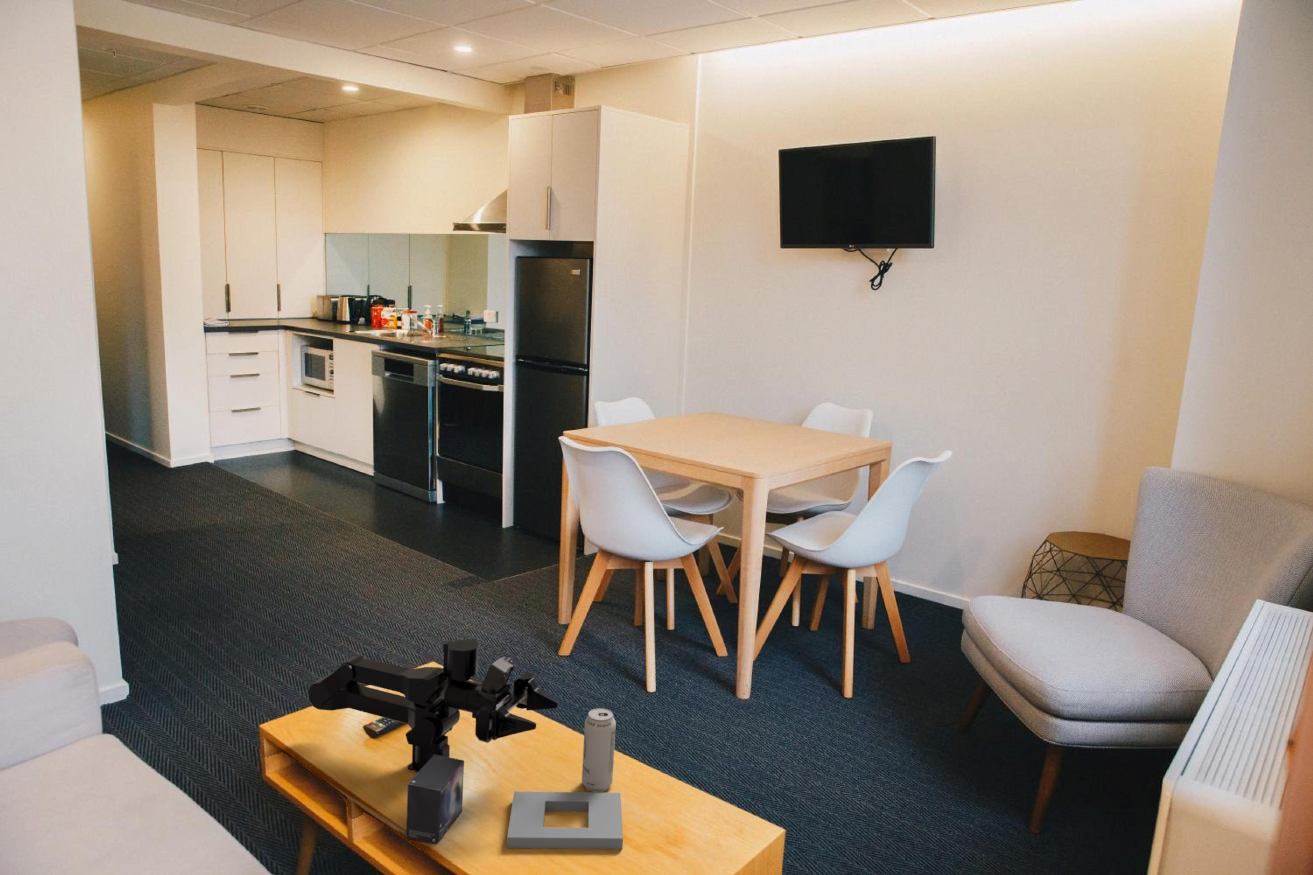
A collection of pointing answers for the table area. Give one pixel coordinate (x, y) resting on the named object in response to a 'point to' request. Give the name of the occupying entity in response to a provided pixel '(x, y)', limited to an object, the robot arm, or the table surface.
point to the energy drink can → (598, 750)
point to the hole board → (533, 834)
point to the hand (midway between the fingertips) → (547, 715)
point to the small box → (434, 799)
